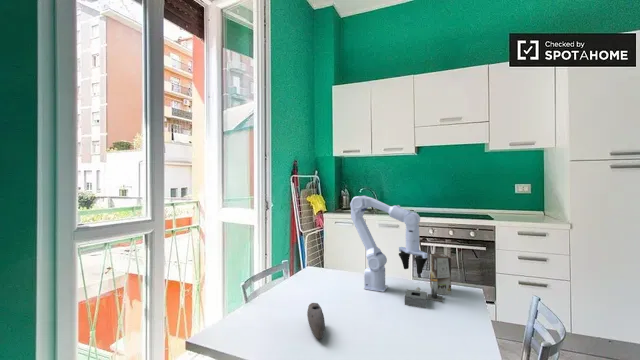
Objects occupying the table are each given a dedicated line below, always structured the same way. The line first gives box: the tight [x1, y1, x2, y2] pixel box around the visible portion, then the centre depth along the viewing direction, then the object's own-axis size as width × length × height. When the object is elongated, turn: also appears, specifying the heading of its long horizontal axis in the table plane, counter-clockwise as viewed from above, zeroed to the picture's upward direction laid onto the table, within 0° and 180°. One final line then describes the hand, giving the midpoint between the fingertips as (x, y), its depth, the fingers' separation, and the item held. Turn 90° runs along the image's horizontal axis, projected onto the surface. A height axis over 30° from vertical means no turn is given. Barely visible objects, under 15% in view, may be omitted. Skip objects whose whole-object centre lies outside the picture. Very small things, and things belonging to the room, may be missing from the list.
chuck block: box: [404, 286, 428, 309], centre depth 120 cm, size 8×15×4 cm, turn 156°
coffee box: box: [429, 252, 452, 295], centre depth 130 cm, size 9×6×16 cm
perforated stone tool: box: [306, 302, 326, 340], centre depth 94 cm, size 15×5×7 cm, turn 8°
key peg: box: [430, 278, 438, 299], centre depth 121 cm, size 2×2×8 cm
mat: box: [427, 293, 444, 303], centre depth 121 cm, size 6×6×1 cm
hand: (412, 271), depth 126 cm, fingers open, 7 cm apart
